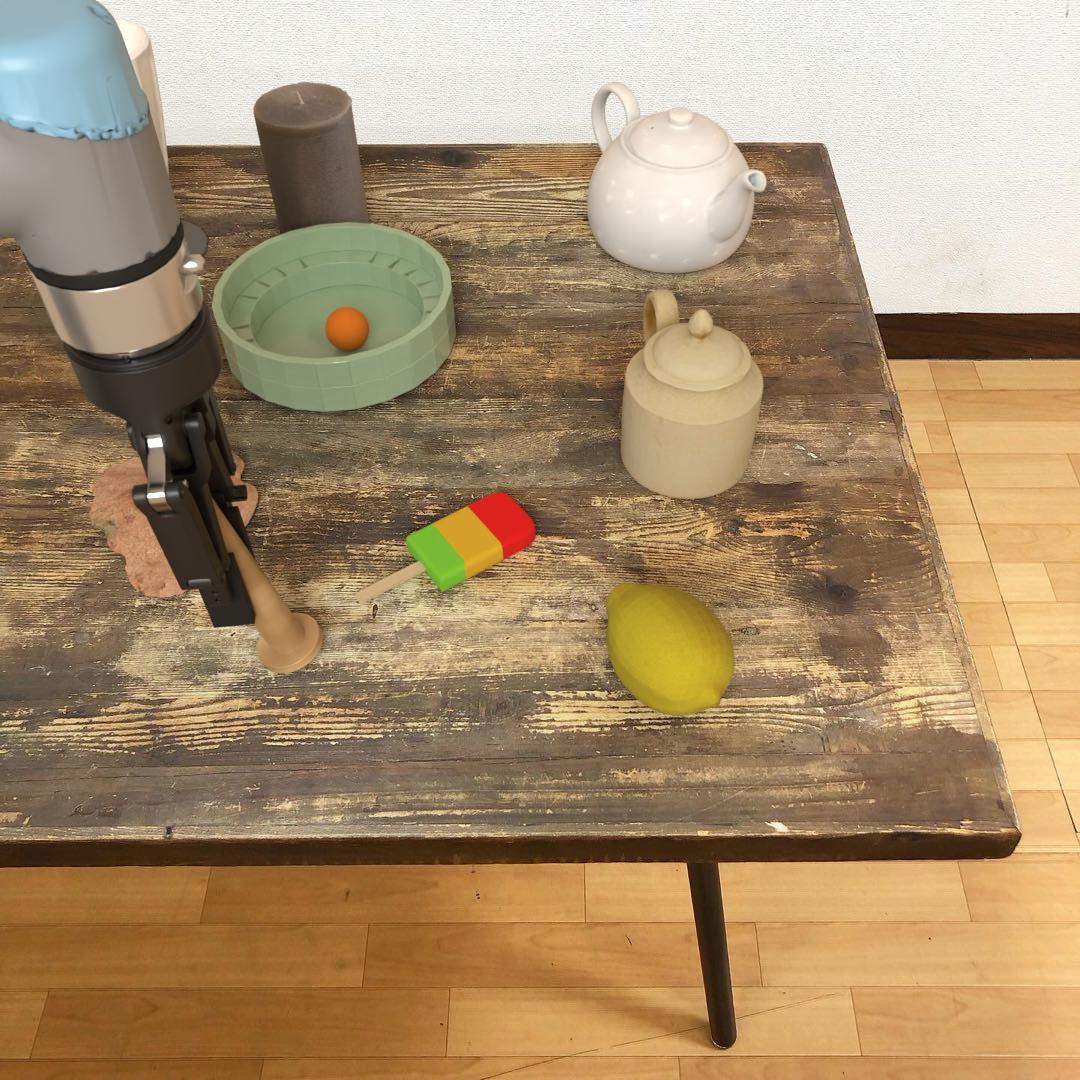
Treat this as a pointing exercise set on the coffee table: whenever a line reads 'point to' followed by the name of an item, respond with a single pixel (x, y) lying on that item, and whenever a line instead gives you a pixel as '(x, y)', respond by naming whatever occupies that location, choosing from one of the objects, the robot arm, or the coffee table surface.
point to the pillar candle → (311, 155)
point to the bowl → (314, 293)
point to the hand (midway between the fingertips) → (237, 597)
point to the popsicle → (463, 544)
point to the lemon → (668, 648)
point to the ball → (347, 328)
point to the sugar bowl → (688, 404)
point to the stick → (272, 613)
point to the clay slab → (144, 526)
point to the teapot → (668, 188)
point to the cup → (155, 108)
